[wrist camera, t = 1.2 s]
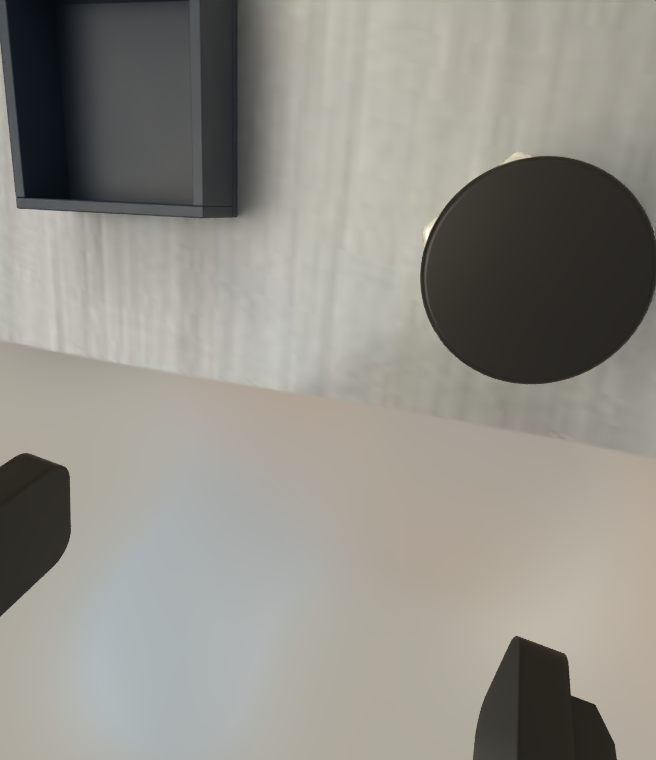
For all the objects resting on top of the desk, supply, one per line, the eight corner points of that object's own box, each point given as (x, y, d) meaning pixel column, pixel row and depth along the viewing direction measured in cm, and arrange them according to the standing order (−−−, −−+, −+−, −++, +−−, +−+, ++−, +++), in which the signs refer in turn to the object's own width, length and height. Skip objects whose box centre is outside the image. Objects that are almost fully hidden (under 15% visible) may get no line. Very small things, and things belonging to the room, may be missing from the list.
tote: (54, -3, 34) (-9, -35, 30) (237, -9, 32) (199, -44, 28) (70, 208, 38) (16, 208, 33) (237, 217, 35) (203, 218, 31)
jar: (489, 360, 34) (498, 433, 23) (401, 247, 34) (367, 267, 22) (633, 260, 31) (724, 289, 20) (539, 135, 31) (578, 91, 19)
